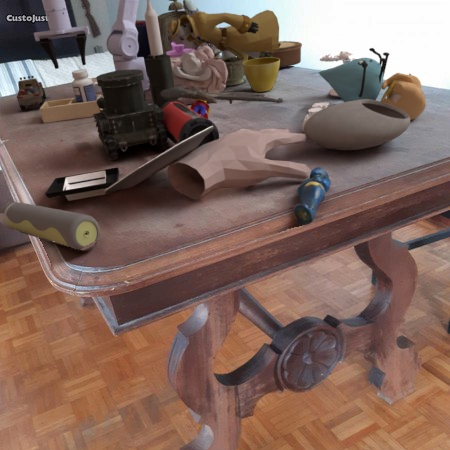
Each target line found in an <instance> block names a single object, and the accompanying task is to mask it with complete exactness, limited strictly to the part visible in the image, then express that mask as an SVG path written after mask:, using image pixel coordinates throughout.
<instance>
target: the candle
mask: <svg viewBox="0 0 450 450" xmlns="http://www.w3.org/2000/svg"><path fill="white" fill-rule="evenodd" d="M144 21H145V22H146V28H147V34H148V40H149V45H150V51H151V54H149V55H148V58H147V59H145V61H146V66H147V77H148V78H149V83H148V84H149V90H150V94H151V100H152V104H156V105H157V106H158V107H160V108H161V107H162V105H164V104H165V103H166V102H169V101H167V100H164V99H163V98H161V97H160V96H159V93H160V92H161V91H163V90H167V89H170V88H173V87H175V86H174V79H173V72H172V66H171V59H170V55H167V53H165V52H163V49H162V43H161V36H160V30H159V23H158V13H157V12H156V10H154V6H153V4H152V3H151V0H146V10H145V13H144Z"/></svg>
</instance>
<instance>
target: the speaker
mask: <svg viewBox="0 0 450 450" xmlns="http://www.w3.org/2000/svg"><path fill="white" fill-rule="evenodd" d="M161 109H162V110H163V112H164V118H165V119H163V120H158V121H159V122H161V123H162V125H164V130H165V129H166V136H168V140H170V141H171V142H172V143H173V144H174V145H177V144H179V143H180V142H182V141H184V140H186V139H188V138H189V137H191V136H193V135H195V134H197V133H199V132H201V131H203V130H205V129H207V128H209V127H211V126H213V127H214V129H213V130H212V131H211V132H210V133H209V134H208V135H207V136H205V137H204V139H203V140H202V141H201V143H200V144H199V145H198V147H200V146H202V145H203V144H206V143H209V142H212V141H215V140H218V139H220V131H219V130H218V127H217V125H216V124H215V123H214V121H212V120H211V119H209V118H208V119H206V118H204V117H202V116H201V115H199V114H198V113H196V112H195V111H193V110H191V109H190V108H189V106H188V104H186V105H185V104H184V103H182V102H180V101H175V100H174V101H169V102H166V103H165V104H164V105H162V107H161ZM198 147H197V148H198ZM197 148H195V149H197ZM195 149H194V150H195ZM191 152H192V151H191Z"/></svg>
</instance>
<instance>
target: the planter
mask: <svg viewBox="0 0 450 450" xmlns="http://www.w3.org/2000/svg"><path fill="white" fill-rule="evenodd" d="M380 101H381V100H380ZM380 101H379V100H369V99H362V100H354V101H348V102H344V101H343V102H341V103H336V104H332V105H330V106H329V105H328V107H326V108H324V109H322V110H320V111H318V112H316V113H315V114H314V115H312V116H311V117H310V118H309V119H308V120H307V121H306V123H305V125H304V130H303V134H306V139H307V140H308V141H310V142H311V143H312V144H314V145H316V146H319V147H322V148H325V149H330V150H337V151H357V150H364V149H370V148H373V147H377V146H379V145H383V144H385V143H388V142H391V141H392V140H395V139H397V138H398V137H400V136H401V135H402V134H404V133H405V132H406V131H407V130H408V128H409V126H410V124H411V120H410V117H409V115H408V114H407V113H406V112H405V111H403V110H401V109H399V108H397V107H395V106H392V105H390V104H387V103H384V102H380Z"/></svg>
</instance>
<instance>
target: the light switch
mask: <svg viewBox="0 0 450 450" xmlns="http://www.w3.org/2000/svg"><path fill="white" fill-rule="evenodd" d="M119 180H120V169H119V166H118V167H110V168H105V169H100V170H95V171H94V170H93V171H89V172H82V173H78V174H71V175H67V176H61V177H56V178H54V179H53V181H52V183H51V184H50V186H49V187H48V188H47V190H46V191H45V193H44V195H45V197H46V198H47V199H55V198H59V197H65V199H67V201H69V202H70V201H74V200H82V199H87V198H92V197H97V196H98V197H99V196H103V195H107V194H108V193H105V192H104V191H105V190H106V189H107V188H109V187H110V186H112V185H113V184H115V183H116V182H117V181H119Z"/></svg>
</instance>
